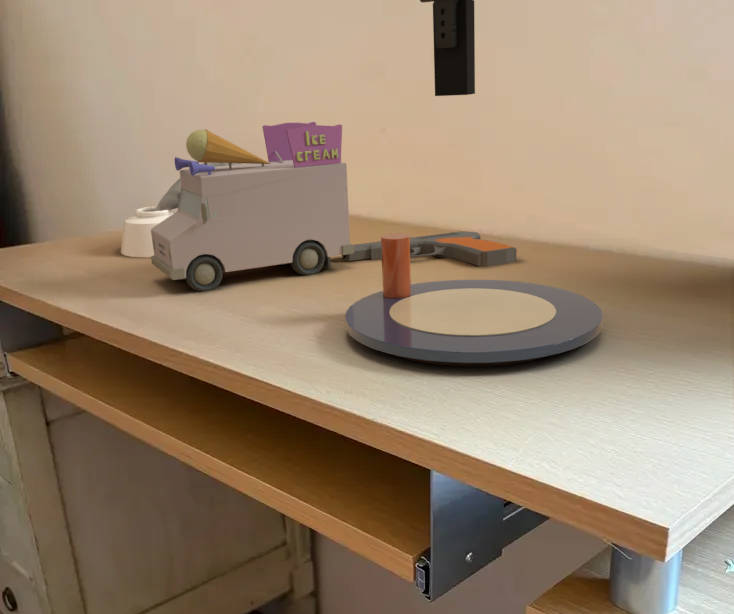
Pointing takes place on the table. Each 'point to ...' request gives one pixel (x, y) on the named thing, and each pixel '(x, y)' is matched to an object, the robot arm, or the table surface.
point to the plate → (467, 316)
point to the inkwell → (151, 221)
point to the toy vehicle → (257, 206)
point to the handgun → (446, 249)
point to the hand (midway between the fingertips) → (454, 94)
